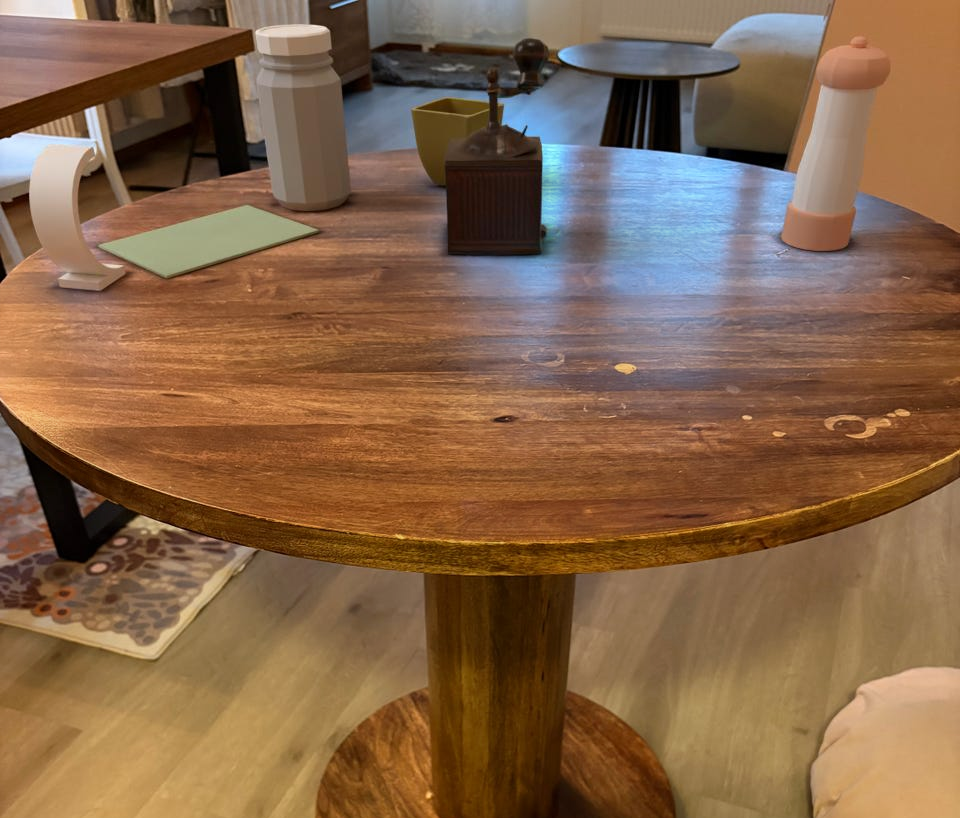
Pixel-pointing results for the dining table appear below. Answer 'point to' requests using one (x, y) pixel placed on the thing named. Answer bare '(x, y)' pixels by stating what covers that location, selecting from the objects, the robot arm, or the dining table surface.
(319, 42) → the jar
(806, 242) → the salt shaker
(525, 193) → the brown manual coffee grinder
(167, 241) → the placemat
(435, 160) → the flower pot
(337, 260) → the dining table surface
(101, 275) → the headphone stand
